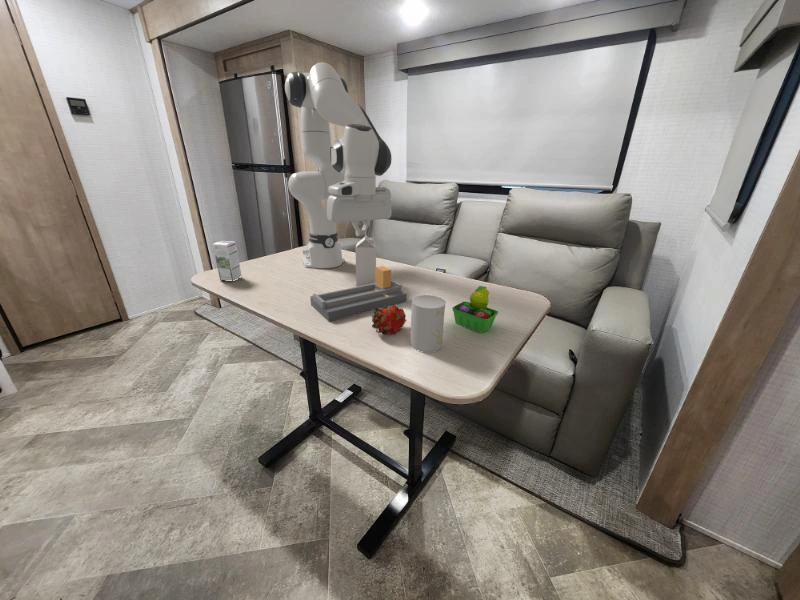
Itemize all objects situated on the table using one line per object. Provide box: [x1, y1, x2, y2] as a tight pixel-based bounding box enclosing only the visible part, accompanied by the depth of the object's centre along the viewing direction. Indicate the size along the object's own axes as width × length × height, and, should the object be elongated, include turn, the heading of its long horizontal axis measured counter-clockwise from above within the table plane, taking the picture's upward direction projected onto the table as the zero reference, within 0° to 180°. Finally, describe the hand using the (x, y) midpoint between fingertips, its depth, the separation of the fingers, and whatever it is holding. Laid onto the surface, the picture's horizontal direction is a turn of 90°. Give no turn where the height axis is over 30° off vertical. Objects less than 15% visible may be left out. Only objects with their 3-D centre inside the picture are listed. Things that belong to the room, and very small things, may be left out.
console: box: [310, 278, 408, 322], centre depth 106 cm, size 14×29×5 cm, turn 125°
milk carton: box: [354, 234, 377, 287], centre depth 120 cm, size 7×7×19 cm
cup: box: [409, 294, 446, 353], centre depth 82 cm, size 8×8×12 cm
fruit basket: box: [451, 285, 499, 334], centre depth 93 cm, size 11×9×11 cm
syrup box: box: [212, 240, 243, 281], centre depth 122 cm, size 6×6×14 cm
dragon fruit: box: [371, 304, 407, 336], centre depth 88 cm, size 8×8×12 cm
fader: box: [374, 265, 392, 290], centre depth 109 cm, size 5×4×7 cm
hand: (361, 235), depth 99 cm, fingers closed
